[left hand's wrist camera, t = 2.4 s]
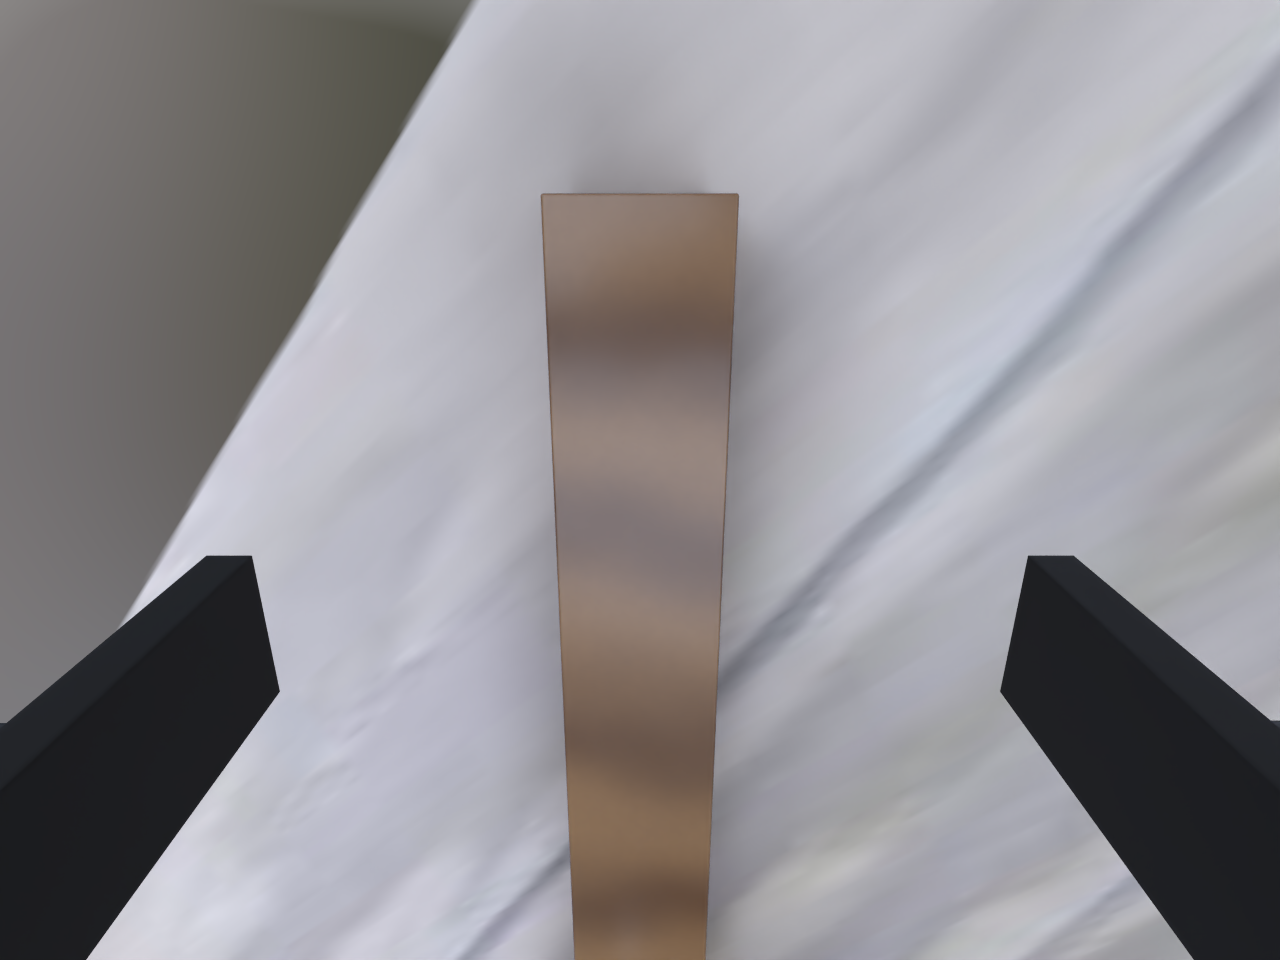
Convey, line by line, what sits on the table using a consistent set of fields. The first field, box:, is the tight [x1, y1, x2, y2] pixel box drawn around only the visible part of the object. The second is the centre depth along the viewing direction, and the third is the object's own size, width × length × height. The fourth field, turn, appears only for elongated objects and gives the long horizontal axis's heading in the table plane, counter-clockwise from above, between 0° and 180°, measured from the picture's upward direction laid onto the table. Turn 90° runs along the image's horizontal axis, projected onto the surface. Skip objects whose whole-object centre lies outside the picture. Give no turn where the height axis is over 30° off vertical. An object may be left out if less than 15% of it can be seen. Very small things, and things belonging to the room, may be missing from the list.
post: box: [541, 193, 739, 960], centre depth 34 cm, size 60×5×9 cm, turn 0°
